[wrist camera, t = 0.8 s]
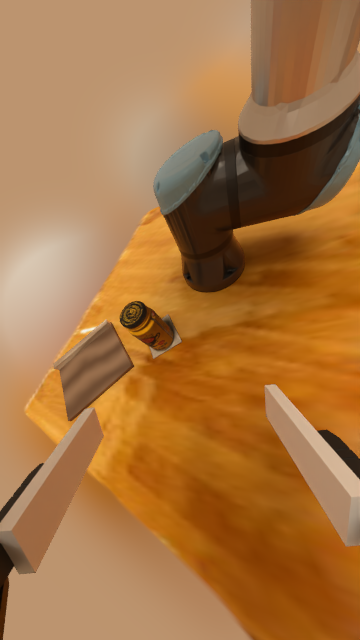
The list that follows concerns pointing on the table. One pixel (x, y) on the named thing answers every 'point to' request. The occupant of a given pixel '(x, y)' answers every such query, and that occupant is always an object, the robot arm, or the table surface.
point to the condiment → (149, 327)
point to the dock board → (92, 368)
